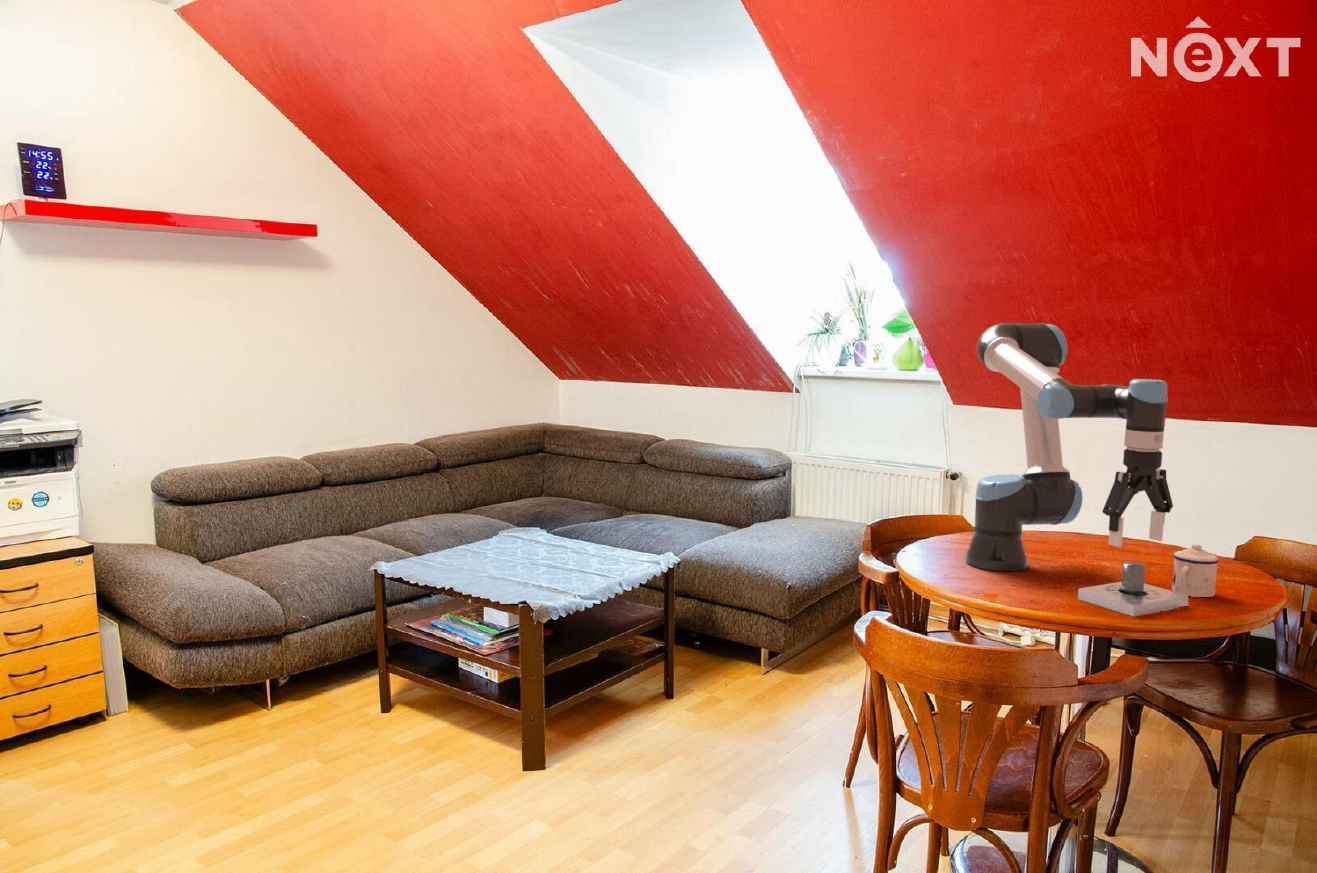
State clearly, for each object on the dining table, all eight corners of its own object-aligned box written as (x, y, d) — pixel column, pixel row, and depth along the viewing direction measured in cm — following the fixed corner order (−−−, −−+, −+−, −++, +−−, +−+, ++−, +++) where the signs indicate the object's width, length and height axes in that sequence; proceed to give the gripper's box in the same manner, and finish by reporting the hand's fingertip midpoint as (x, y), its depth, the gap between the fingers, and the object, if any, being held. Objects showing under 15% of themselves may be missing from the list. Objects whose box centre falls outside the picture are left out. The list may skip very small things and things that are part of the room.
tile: (1077, 599, 205) (1078, 588, 205) (1130, 590, 213) (1131, 580, 213) (1133, 616, 193) (1134, 605, 192) (1187, 606, 200) (1188, 595, 200)
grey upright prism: (1116, 601, 204) (1118, 562, 203) (1129, 599, 206) (1132, 560, 205) (1133, 606, 200) (1136, 567, 199) (1147, 604, 202) (1149, 565, 201)
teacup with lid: (1179, 585, 217) (1183, 538, 216) (1221, 594, 210) (1225, 545, 209) (1159, 594, 210) (1163, 545, 208) (1202, 603, 203) (1206, 553, 201)
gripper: (1120, 454, 190) (1112, 552, 193) (1195, 448, 201) (1187, 541, 203) (1089, 449, 197) (1082, 544, 199) (1164, 444, 207) (1156, 533, 210)
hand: (1135, 542), depth 201 cm, fingers open, 13 cm apart
